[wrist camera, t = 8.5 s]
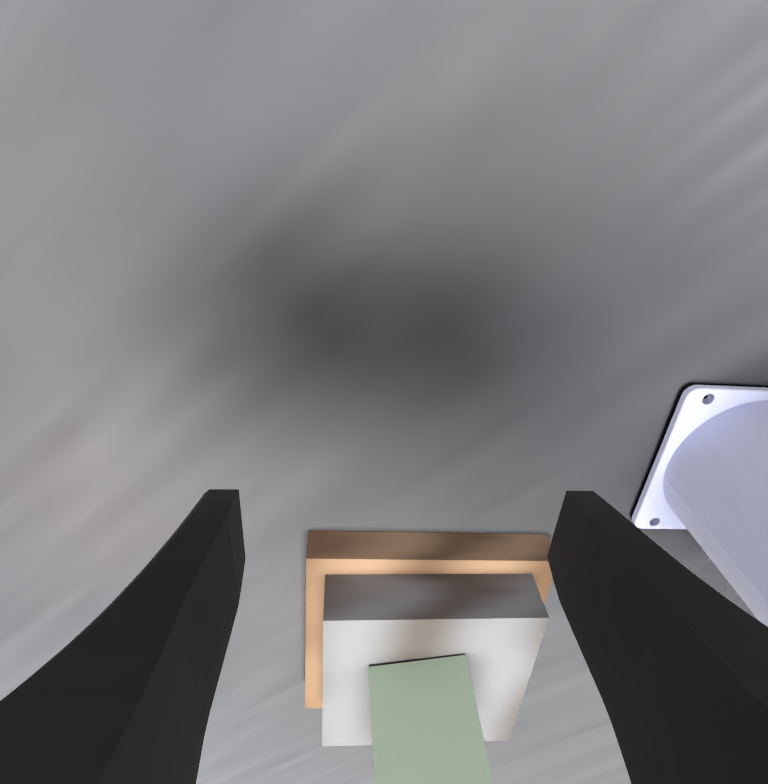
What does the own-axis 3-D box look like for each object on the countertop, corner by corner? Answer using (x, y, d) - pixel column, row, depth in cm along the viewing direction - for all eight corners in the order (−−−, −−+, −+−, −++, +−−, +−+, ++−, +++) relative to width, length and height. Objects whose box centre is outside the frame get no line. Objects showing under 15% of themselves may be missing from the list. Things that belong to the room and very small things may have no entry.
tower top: (531, 573, 26) (549, 617, 23) (497, 693, 30) (509, 739, 28) (325, 574, 25) (323, 620, 23) (324, 698, 30) (322, 746, 27)
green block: (465, 654, 24) (499, 810, 19) (466, 707, 27) (497, 859, 21) (368, 666, 24) (376, 826, 19) (378, 718, 26) (387, 873, 21)
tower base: (541, 524, 27) (558, 561, 25) (498, 665, 33) (509, 705, 31) (309, 520, 26) (306, 558, 24) (308, 666, 32) (305, 708, 30)
